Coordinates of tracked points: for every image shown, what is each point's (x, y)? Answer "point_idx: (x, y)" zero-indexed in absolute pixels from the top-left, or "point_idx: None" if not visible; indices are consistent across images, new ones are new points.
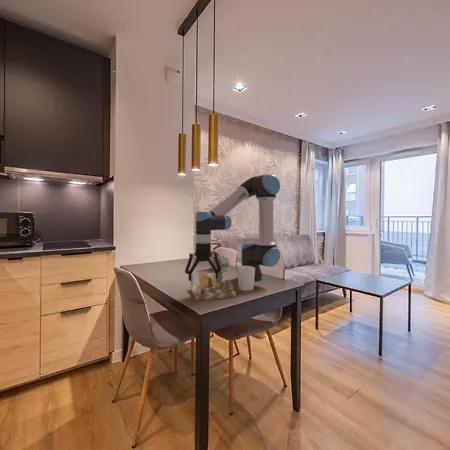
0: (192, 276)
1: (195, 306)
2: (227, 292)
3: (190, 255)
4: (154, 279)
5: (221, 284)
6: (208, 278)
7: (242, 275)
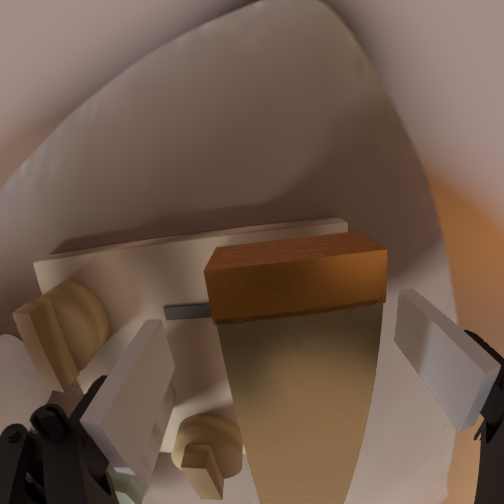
0: (476, 357)
1: (353, 94)
2: (78, 281)
3: None
4: (426, 488)
5: None
6: (218, 250)
7: None
